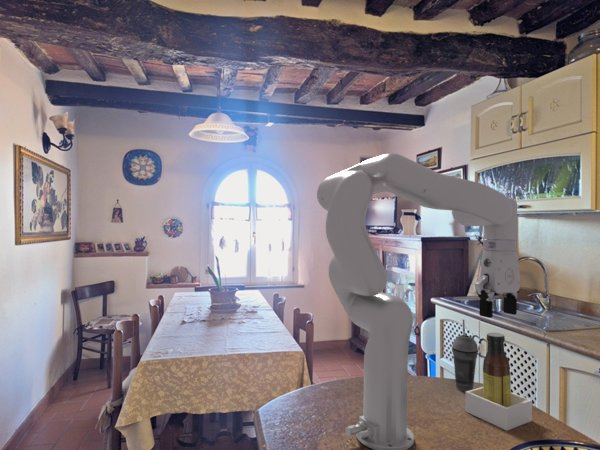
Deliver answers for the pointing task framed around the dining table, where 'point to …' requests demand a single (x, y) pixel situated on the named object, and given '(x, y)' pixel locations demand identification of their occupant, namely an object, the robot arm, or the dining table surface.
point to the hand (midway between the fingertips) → (498, 315)
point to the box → (499, 409)
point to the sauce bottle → (496, 372)
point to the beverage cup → (464, 361)
